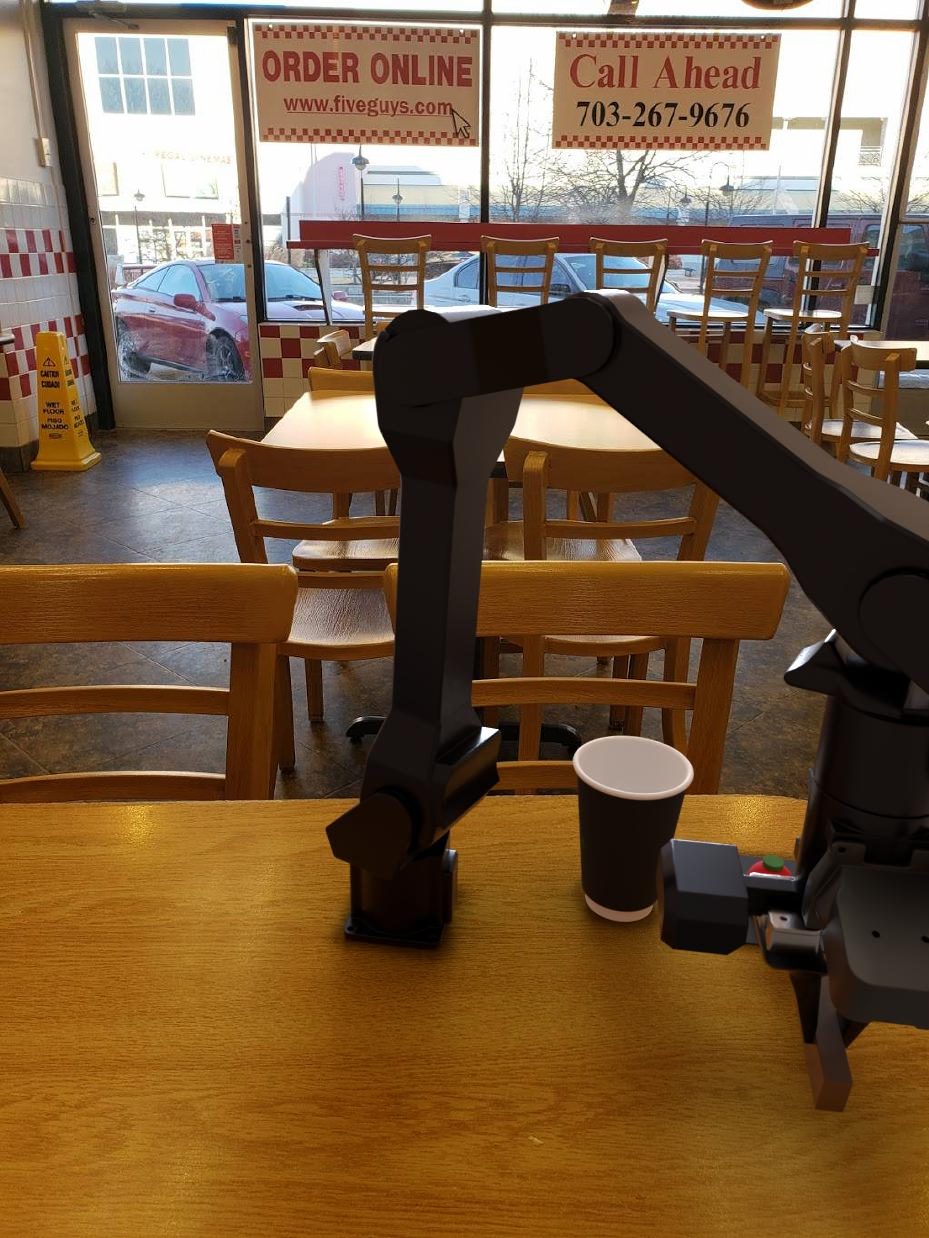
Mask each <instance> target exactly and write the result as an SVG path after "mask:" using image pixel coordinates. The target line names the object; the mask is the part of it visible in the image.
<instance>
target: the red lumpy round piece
mask: <svg viewBox="0 0 929 1238" xmlns="http://www.w3.org/2000/svg"><path fill="white" fill-rule="evenodd" d="M782 859H783V858H782V857H780V856H777V855H773V854H767V855H765V856H764V858H763V861H760V862H758V863H756V864H754V865H753V866H752V867H751V868H750V870H749V871H748V873H747V874H746V875H750V874H751V873H760V874H770V875H779V876H789V877H792V875H791V873H790V871H789V870H788V869H787V868H786V867H785V866H784V861H783V860H782Z"/></svg>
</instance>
